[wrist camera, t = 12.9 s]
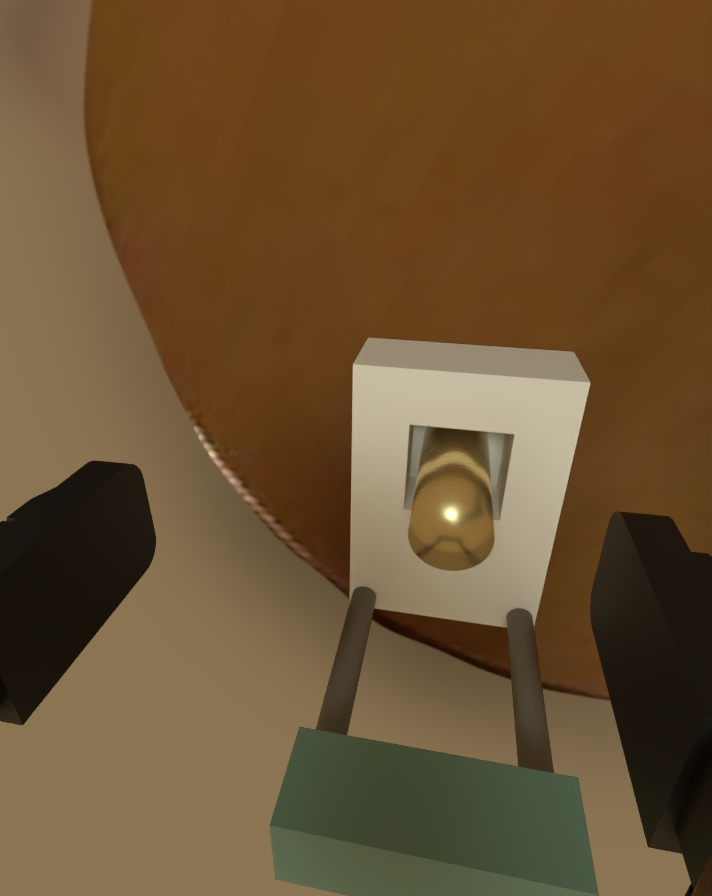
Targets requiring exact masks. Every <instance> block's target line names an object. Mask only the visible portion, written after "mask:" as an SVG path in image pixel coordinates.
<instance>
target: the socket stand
mask: <svg viewBox="0 0 712 896" xmlns="http://www.w3.org/2000/svg"><path fill="white" fill-rule="evenodd" d="M589 387H590V381H589V379H588V377H587V375H586V373H585V372H584V370H583V368H582V366H581V364H580V362H579V360H578V359H577V357H576V355H575V353H574V352H567V351H553V350H538V349H524V348H510V347H495V346H481V345H466V344H452V343H438V342H423V341H409V340H395V339H380V338H368V339H367V341H366V343H365V344H364V346H363V348H362V350H361V351H360V353H359V355H358V357H357V358H356V360H355V362H354V364H353V402H352V469H351V536H350V603H349V608H348V612H347V616H346V619H345V623H344V627H343V631H342V634H341V638H340V642H339V646H338V649H337V653H336V656H335V660H334V664H333V667H332V671H331V675H330V679H329V682H328V686H327V690H326V694H325V697H324V701H323V704H322V709H321V712H320V716H319V719H318V723H317V727H316V730H315V729H310V728H304V727H299V730H298V733H297V736H296V740H295V743H294V746H293V750H292V753H291V757H290V760H289V763H288V766H287V770H286V773H285V776H284V780H283V783H282V786H281V790H280V793H279V796H278V800H277V803H276V807H275V810H274V813H273V816H272V820H271V823H270V831H271V832H270V833H271V842H272V852H273V862H274V872H275V879H277V880H281V881H286V882H290V883H295V884H299V885H303V886H308V887H312V888H316V889H321V890H326V891H330V892H334V893H339V894H343V895H347V896H599V894H598V888H597V883H596V877H595V871H594V865H593V860H592V854H591V848H590V843H589V837H588V831H587V826H586V820H585V814H584V808H583V803H582V798H581V791H580V786H579V781H578V778H577V777H572V776H567V775H561V774H556V773H554V770H553V763H552V755H551V748H550V741H549V734H548V726H547V720H546V713H545V704H544V698H543V690H542V683H541V675H540V668H539V661H538V653H537V646H536V639H535V632H534V625H535V621H536V616H537V612H538V608H539V604H540V599H541V595H542V591H543V586H544V582H545V578H546V573H547V569H548V565H549V560H550V556H551V552H552V547H553V543H554V539H555V534H556V530H557V526H558V521H559V517H560V513H561V508H562V504H563V500H564V495H565V491H566V487H567V482H568V478H569V474H570V469H571V465H572V461H573V456H574V452H575V448H576V443H577V439H578V435H579V430H580V426H581V422H582V417H583V413H584V409H585V404H586V400H587V396H588V391H589ZM427 426H431V427H442V428H453V429H464V430H474V431H485V432H487V435H488V445H489V461H490V476H491V491H492V506H493V522H494V537H495V539H494V546H493V549H492V551H491V553H490V554H489V556H488V557H487V558H486V559H485V560H484V561H483V562H481V563H480V564H478V565H477V566H475V567H472V568H470V569H466V570H461V571H446V570H441V569H438V568H435V567H432V566H430V565H428V564H426V563H425V562H423V561H422V560H421V559H420V558H419V557H418V556H417V555H416V554H415V553H414V551H413V550H412V548H411V546H410V543H409V539H408V530H409V524H410V518H411V511H412V505H413V499H414V493H415V487H416V481H417V475H418V468H419V462H420V456H421V450H422V444H423V438H424V433H425V430H426V428H427ZM374 608H375V609H382V610H388V611H395V612H402V613H409V614H416V615H423V616H430V617H437V618H443V619H450V620H457V621H464V622H471V623H478V624H485V625H491V626H498V627H505V628H507V631H508V643H509V656H510V668H511V681H512V692H513V705H514V718H515V731H516V743H517V755H518V766H512V765H506V764H501V763H496V762H490V761H485V760H479V759H474V758H468V757H463V756H457V755H452V754H446V753H441V752H435V751H430V750H425V749H419V748H414V747H408V746H403V745H397V744H392V743H386V742H381V741H375V740H370V739H364V738H359V737H353V736H348V735H347V732H348V728H349V723H350V719H351V714H352V709H353V705H354V700H355V695H356V691H357V686H358V681H359V677H360V671H361V667H362V663H363V658H364V653H365V648H366V644H367V639H368V634H369V630H370V625H371V621H372V616H373V611H374Z"/></svg>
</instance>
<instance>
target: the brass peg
mask: <svg viewBox="0 0 712 896" xmlns="http://www.w3.org/2000/svg"><path fill="white" fill-rule="evenodd" d="M408 539H409V543H410V546H411V548H412V550H413V551H414V553H415V554H416V555H417V556H418V557H419V558H420V559H421V560H422V561H423V562H425V563H426V564H428V565H430V566H432V567H435V568H438V569H441V570H446V571H461V570H466V569H470V568H472V567H475V566H477V565H478V564H480V563H481V562H483V561H484V560H485V559H486V558H487V557H488V556H489V554H490V553H491V551H492V549H493V546H494V539H495V537H494V522H493V506H492V491H491V476H490V461H489V445H488V435H487V432H485V431H474V430H464V429H453V428H442V427H431V426H427V428H426V430H425V433H424V438H423V444H422V450H421V456H420V462H419V468H418V475H417V481H416V487H415V493H414V499H413V505H412V511H411V518H410V524H409V530H408Z"/></svg>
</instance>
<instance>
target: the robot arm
mask: <svg viewBox="0 0 712 896" xmlns="http://www.w3.org/2000/svg"><path fill="white" fill-rule="evenodd" d="M155 547H156V535H155V530H154V525H153V520H152V516H151V511H150V507H149V502H148V497H147V492H146V488H145V483H144V478H143V475H142V473H141V470H140V469H139V468H138V467H137V466H136V465H134V464H125V463H114V462H104V461H91V462H88V463H87V464H85V465H84V466H83V467H81V468H80V469H79V470H78V471H76V472H75V473H74V474H72V475H71V476H70V477H69V478H67V479H66V480H65V481H64V482H62V483H61V484H60V485H59V486H57V487H55V488H53V489H51V490H49V491H47V492H45V493H43V494H41V495H38V496H36V497H34V498H32V499H30V500H29V501H28V502H26V503H25V504H24V505H22V506H21V507H20V508H18V509H17V510H16V511H15V512H13V513H12V514H11V515H9V516H8V517H7V521H2V522H0V721H2V722H8V723H14V724H18V725H23V724H24V723H25V722H26V721H27V719H28V718H29V717H30V715H31V714H32V713H33V712H34V711H35V709H36V708H37V707H38V706H39V704H40V703H41V702H42V701H43V699H44V698H45V697H46V696H47V694H48V693H49V692H50V691H51V689H52V688H53V687H54V686H55V684H56V683H57V682H58V681H59V679H60V678H61V677H62V676H63V674H64V673H65V672H66V671H67V669H68V668H69V667H70V666H71V664H72V663H73V662H74V660H75V659H76V658H77V657H78V656H79V654H80V653H81V652H82V651H83V649H84V648H85V647H86V646H87V644H88V643H89V642H90V641H91V639H92V638H93V637H94V636H95V634H96V633H97V632H98V631H99V629H100V628H101V627H102V626H103V624H104V623H105V622H106V620H107V619H108V618H109V617H110V616H111V614H112V613H113V612H114V611H115V609H116V608H117V607H118V606H119V604H120V603H121V602H122V600H123V599H124V598H125V597H126V595H127V594H128V593H129V592H130V591H131V589H132V588H133V587H134V586H135V584H136V583H137V582H138V581H139V579H140V578H141V577H142V576H143V574H144V573H145V572H146V570H147V569H148V568H149V566H150V564H151V562H152V559H153V556H154V553H155ZM590 613H591V624H592V629H593V633H594V637H595V641H596V645H597V649H598V653H599V657H600V661H601V665H602V669H603V673H604V677H605V681H606V684H607V688H608V692H609V696H610V700H611V704H612V708H613V712H614V715H615V719H616V723H617V727H618V731H619V735H620V739H621V743H622V747H623V751H624V755H625V759H626V763H627V767H628V771H629V775H630V778H631V782H632V786H633V790H634V794H635V798H636V802H637V806H638V809H639V814H640V818H641V821H642V826H643V829H644V833H645V837H646V841H647V845H648V847H651V848H655V849H661V850H666V851H672V852H677V853H682V854H683V857H684V860H685V863H686V867H687V870H688V873H689V877H690V880H691V884H690V886H689V888H688V890H687V892H686V894H685V896H712V557H711V556H710V555H709V554H707V553H697V552H691V551H690V549H689V548H688V546H687V544H686V542H685V540H684V539H683V537H682V535H681V533H680V531H679V530H678V528H677V526H676V524H675V523H674V521H673V520H672V519H671V518H670V517H668V516H659V515H649V514H638V513H628V512H615V513H614V514H613V515H612V517H611V519H610V521H609V524H608V528H607V532H606V536H605V540H604V544H603V548H602V552H601V556H600V560H599V564H598V567H597V571H596V575H595V579H594V583H593V588H592V593H591V605H590Z"/></svg>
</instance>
